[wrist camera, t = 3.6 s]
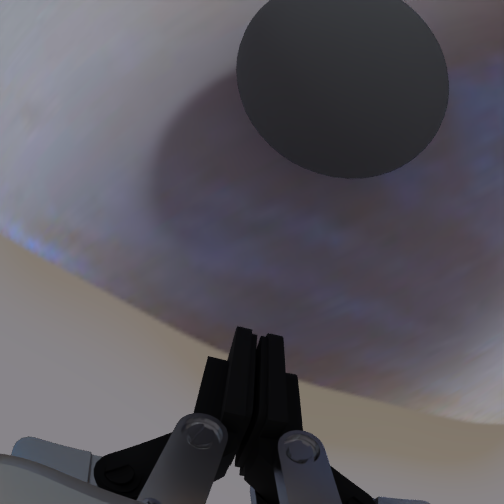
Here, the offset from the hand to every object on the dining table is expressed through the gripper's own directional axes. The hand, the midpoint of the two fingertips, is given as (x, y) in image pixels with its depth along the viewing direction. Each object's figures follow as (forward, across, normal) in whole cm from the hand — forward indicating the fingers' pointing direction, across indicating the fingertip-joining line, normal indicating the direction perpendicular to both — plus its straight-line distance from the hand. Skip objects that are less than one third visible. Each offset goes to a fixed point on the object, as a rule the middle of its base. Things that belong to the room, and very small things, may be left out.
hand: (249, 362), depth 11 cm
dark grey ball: (-1, 0, -10) cm, 10 cm away
